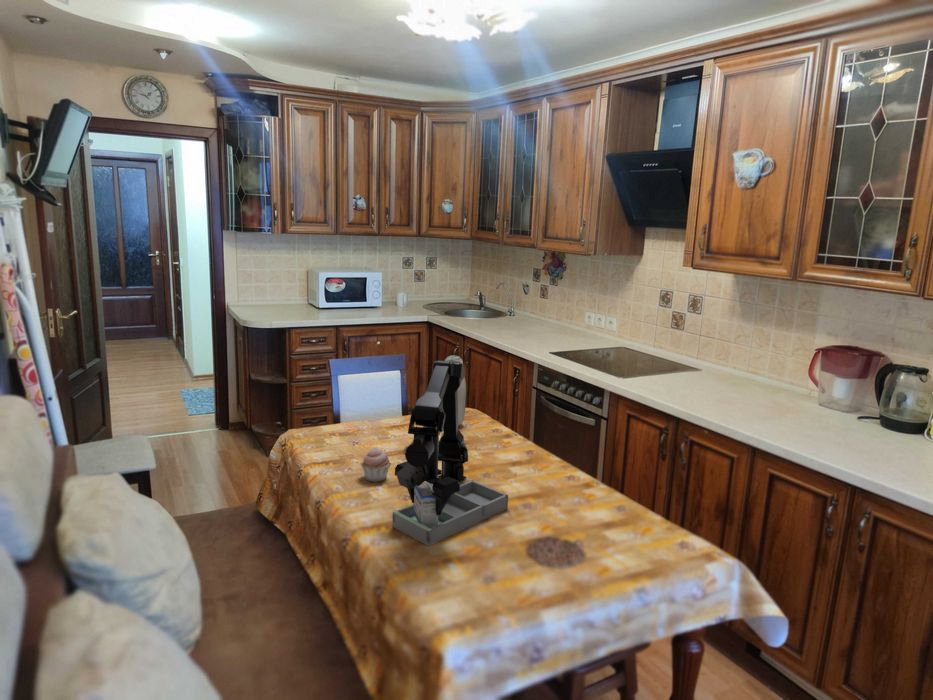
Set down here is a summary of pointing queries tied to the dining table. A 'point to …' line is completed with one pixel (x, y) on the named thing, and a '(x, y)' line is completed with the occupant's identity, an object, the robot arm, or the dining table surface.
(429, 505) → the medicine box
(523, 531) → the dining table surface
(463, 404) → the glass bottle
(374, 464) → the cupcake
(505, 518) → the dining table surface
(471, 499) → the grey compartment tray
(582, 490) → the dining table surface
